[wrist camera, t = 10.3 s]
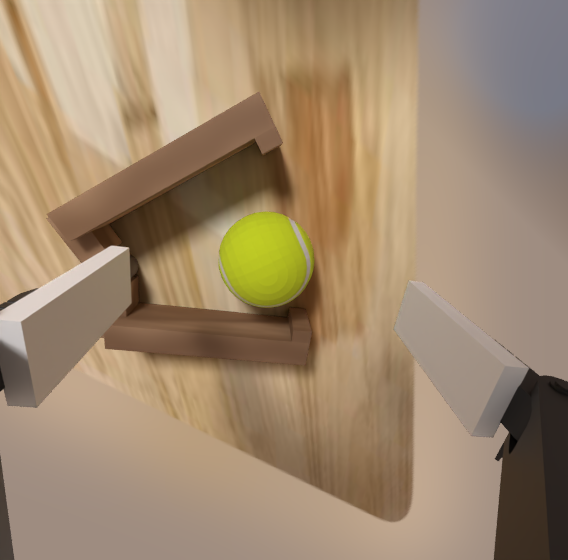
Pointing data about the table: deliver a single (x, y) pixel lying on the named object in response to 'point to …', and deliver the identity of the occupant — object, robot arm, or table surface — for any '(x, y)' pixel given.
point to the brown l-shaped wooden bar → (209, 331)
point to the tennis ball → (266, 259)
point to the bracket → (161, 175)
